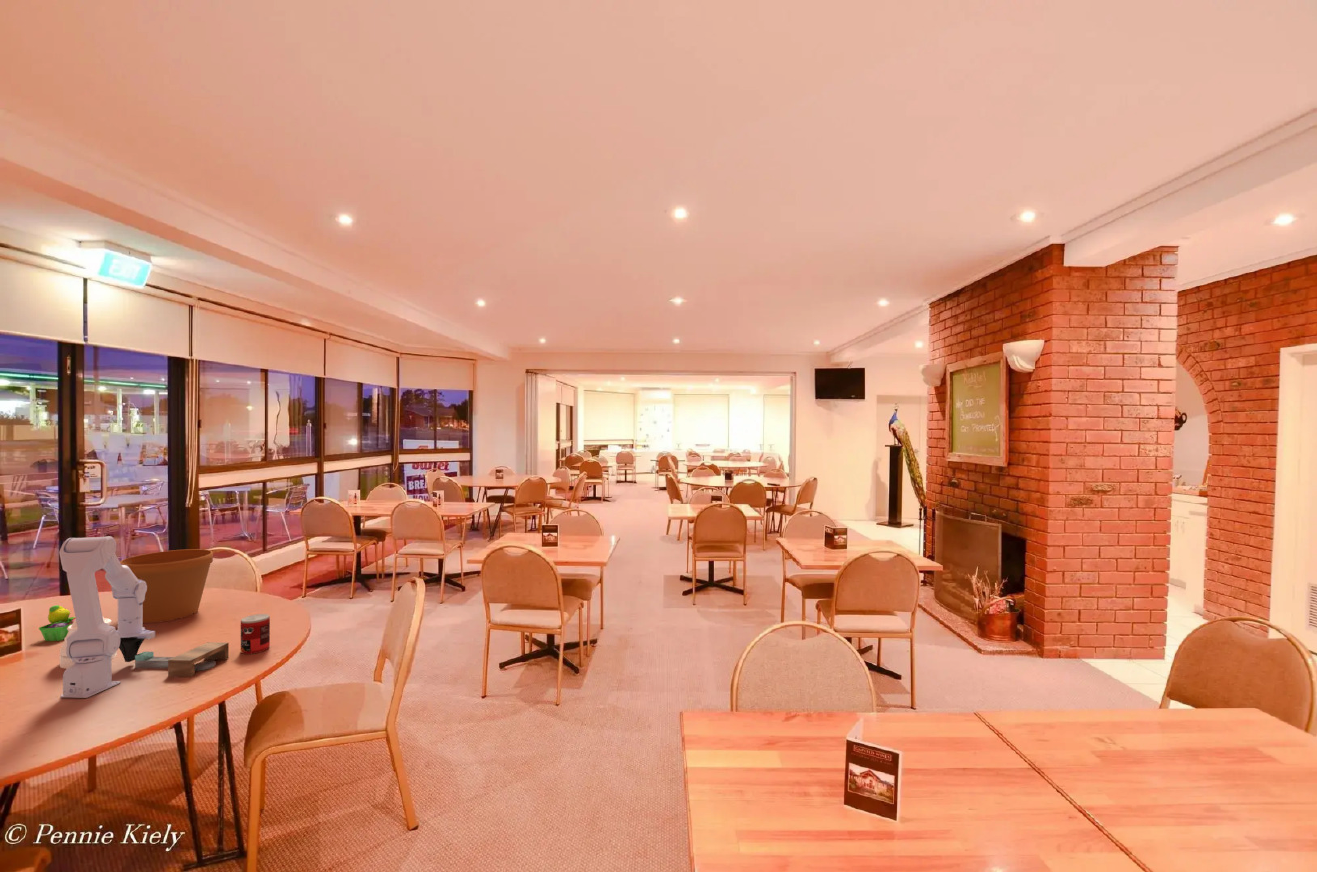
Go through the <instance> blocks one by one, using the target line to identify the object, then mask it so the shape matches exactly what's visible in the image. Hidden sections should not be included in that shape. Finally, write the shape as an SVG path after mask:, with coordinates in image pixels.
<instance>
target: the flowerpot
mask: <svg viewBox="0 0 1317 872" xmlns="http://www.w3.org/2000/svg"><path fill="white" fill-rule="evenodd" d="M213 558H214V553H213V551H212V550H210V549H204V548H195V549H194V548H191V549H189V548H188V549H176V550H163V551H157V552H150V553H143V554H139V555H134V556H129V557H126V558H124V559H121V560H119V561H120V563H121V565H127V566H128V567H129V568H130V569H131V571H132V572H133V574H134V575H135V576H136V577H137V579H138V580H143V581H145V582H146V585H147V591H146V593H145V599H144V601H143V622H144V624H152V623H151V622H155V623H161V622H160V621H164V622H169V620H170V621H175V620H179V619H178V618H180V619H182V618H181V617H184V618H186V617H190V616H192V615H194V614H197V613H198V611H199V608H200V605H201V601H202V597H203V593H204V589H205V585H206V582H207V581H206V580H207V577H208V575H209V574H208V573H209V571H210V566H211V564H212V563H213V561H214V559H213ZM193 613H194V614H193ZM189 615H190V616H189ZM174 619H175V620H174ZM147 622H148V623H147Z"/></svg>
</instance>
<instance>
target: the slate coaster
mask: <svg viewBox="0 0 1317 872" xmlns="http://www.w3.org/2000/svg"><path fill="white" fill-rule="evenodd" d="M215 666H216V661H215V660H204V661H200V662H196V663H194V672H200V671H206V670H210V669H212V668H214V667H215Z"/></svg>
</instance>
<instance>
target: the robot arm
mask: <svg viewBox="0 0 1317 872" xmlns="http://www.w3.org/2000/svg"><path fill="white" fill-rule="evenodd" d="M116 551H117V542H116V539H115V538H114V537H113V536H111V535H110V536H109V535H108V536H97V537H95V536H94V537H92V536H91V537H69V538H67V539H66V540H65V541H63V543H62V545H61V547H60V549H59V557H60V563H61V567H62V570H63V571H64V572H66V578H67V583H68V588H69V592H70V597H71V601H72V608H73V612H74V617H75V618H76V623H77V628H78V629H76V630H75V631H73V632H72V633H71V634H70V635H69V636H68V638H67V647H66V655H67V656H68V658H69V659H72V662H75V664H74V665H73V666H71V667H69V668H68V669H66V668H65V670H64V672H63V675H62V694H61V695H60V698H74V699H80V698H81V699H86V698H90V697H92V696H94V695H96V694H99V693H101V692H103V691H106V690H108V689H110V688H112V687H115V686H116V685H118V684H121V681H119V680H112V677H113V676H112V674H113V673H112V672H113V671H112V659H111V655H113V654H114V653H115V652H116V651H117V652H118V650H120V652H121V655H122V657H123V659H124V662H125V663H130V662H133V661H135V655H137V654H139V650H140V647H141V645H142V643H143V642H144V641H145V640H151V639H153V638H155V637H156V631H155V630H149V629H146V627H144V626H143V625H144V624H143V601H144V599H145V593H146V591H147V585H146V582H145V581H143V580H138V579H137V577H136V576H135V575H134V574H133V572H132V571H131V569H130V568H129V567H128V566H127V565H121V563H120V561H121V560H119V558H118V556H117V555H116ZM100 570H103V571H105V574H104V579H105V580H106V581H107V583H109V585H110V586H111V589H110V590H111V592H112V593H111V594H112V598H113V599H115V600H117V630H116V627H115V626H114V625H112V624H107V623H105V622H104V621H103V617H104V616H103V612H102V605H101V601H100V595H99V591H98V590H99V589H98V586H97V578H96V575H95V573H96V572H98V571H100Z"/></svg>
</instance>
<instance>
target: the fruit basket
mask: <svg viewBox="0 0 1317 872" xmlns="http://www.w3.org/2000/svg"><path fill="white" fill-rule="evenodd" d="M70 614H71V611H70V610H69V609H67V608H65V607H63V606H61V605H57V604H56V605H52V606H51V607H50V608H49V609H48V616H47V620H48V622H49V623H48V624H45V625H43V626H39V627H38V630H39V631H40V632H41V635H42V636H43V639H44V641H45V642H46V641H48V642H57V641H58V642H60V641H63V640H64V638H65V637H66V636H67V634H68V630H67V628H68V627H69V626H70V625H72V624H73V622H74V621H75V619H76V618H75V616H71V617H70Z"/></svg>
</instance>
